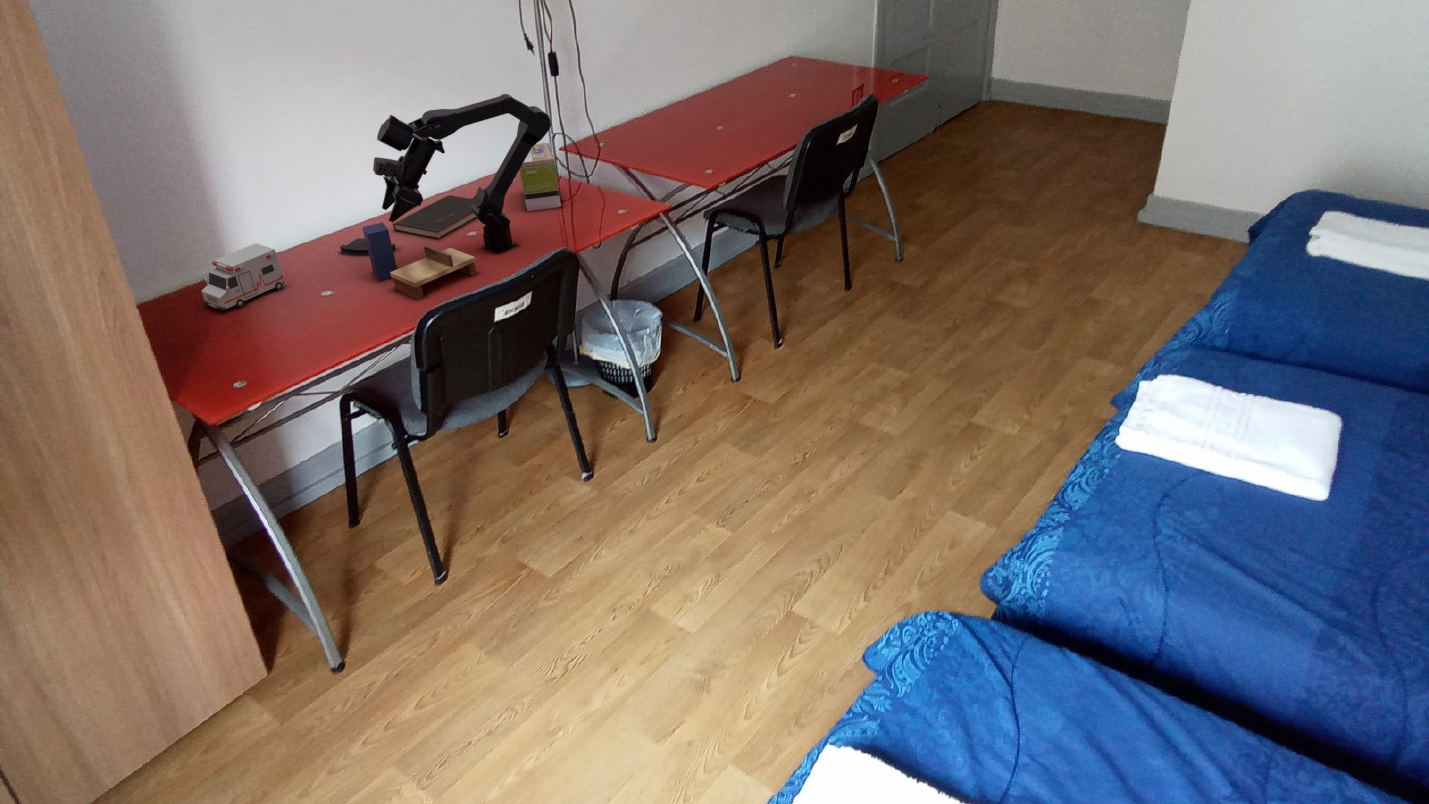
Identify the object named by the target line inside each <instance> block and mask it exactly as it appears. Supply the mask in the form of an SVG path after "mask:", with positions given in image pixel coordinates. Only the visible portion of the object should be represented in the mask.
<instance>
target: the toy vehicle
mask: <svg viewBox="0 0 1429 804" xmlns="http://www.w3.org/2000/svg"><path fill="white" fill-rule="evenodd" d="M211 264H212V266H214V267H216V268H213V269H211V270H208V277H205V278H204V281H205V284H206V286H205V287H204V288H203V289H201V294H202V298H203V304H205V305H208V306H209V307H212V308H215V309H218V310H220V311H225V310H227V309H229V308H232V307H234V306H236V307H238V308H243V306H244V305H245V301H248V300H249V299H252V298H254V297H257V296H259V295H261V294H264V293H265V292H267V291H270V290H273V289H275V290H278V291H281V290H282V289H283V286H284V284H285V279H284V276H283V273H282V269H281V266H280V262H279V260H278V256H277V252H276V249H275V248H272V247H268V246H265V245H263V244H259V243H257V242H255V243H253V244H250V245H248V246H245V247H243V248H241V249H237V250H235V251H233V252H230V253H228V254H226V255H223V256H221V257H218V258H216V259H213V261H212V262H211Z"/></svg>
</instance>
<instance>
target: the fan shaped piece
mask: <svg viewBox="0 0 1429 804" xmlns="http://www.w3.org/2000/svg"><path fill="white" fill-rule="evenodd" d="M391 244H392V248H393V252H394V251H396V250H397V248H396V243H391ZM339 249H340V252H341V254H346V255H351V256H369V253H368V248H367V244H366V240H365V237H364V238H362V237H361V238H359V237H357V238H355V239H354V240H352V241H351V242H349V243H347V245H345V244H342V245H340V246H339Z"/></svg>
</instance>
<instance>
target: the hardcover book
mask: <svg viewBox="0 0 1429 804" xmlns="http://www.w3.org/2000/svg"><path fill="white" fill-rule="evenodd" d="M471 199H472V198H468V197H463V196H457V195H451V194H447V195H446V196H443V197H441V198H440V199H438V200H436V201H434V202H432V203H430V204H428V205H426V206H424V207H423V208H420V209H418V210H416V211H414V212H413V213H411V214H408V215H407V216H405V217H403V218H401V219H399V220H396V221H394V222H392V228H393V230H394V231H395V232H399V233H404V234H410V235H415V236H419V237H424V238H425V237H426V238H430V239H435V240H440V239H442V238H444V237H445V236H447V235H449V234H451V233H453V232H454V231H456V230H458V229H460V228H462V227H463V226H465V225H467V224H469V223H471V222H472V221H474V220H476V219H478V218H477V217H476V215H475V214H474V212H473V210H472V203H473V201H472V200H471Z"/></svg>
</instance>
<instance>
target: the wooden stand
mask: <svg viewBox="0 0 1429 804" xmlns="http://www.w3.org/2000/svg"><path fill="white" fill-rule="evenodd" d="M423 250H424V254H425V257H424V258H422V259H419V260H417V261H414V262H411V263H410V264H407V265H405V266H402V267H399V268H397V270H395V271H392V272H390V275H391V277H393V278H392V280H393V284H394V289H395V291H399V292H400V293H402V294H405V295H407V296H410V297H412V298H414V299H416V300H419V299H422V298H424V293H423V292H424V291H423V289H422V288H423V287H422V285H424V284H427V283H430V282H432V281H435V280H436V279H439V278H440V277H443V276H446V275H448V274H449V273H453V272H455V271H459V272H461V273H464V274H467V275H469V276H474V275H476V274H477V270H476V263H475V262H476V260H477V259H476V256H473V255H471V254H468V253H466V252H462V251H460V250H458V249H454V248H452V247H448V248H446V249H443V250H440V249H437V248H434V247H432V246H430V245H423Z"/></svg>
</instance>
